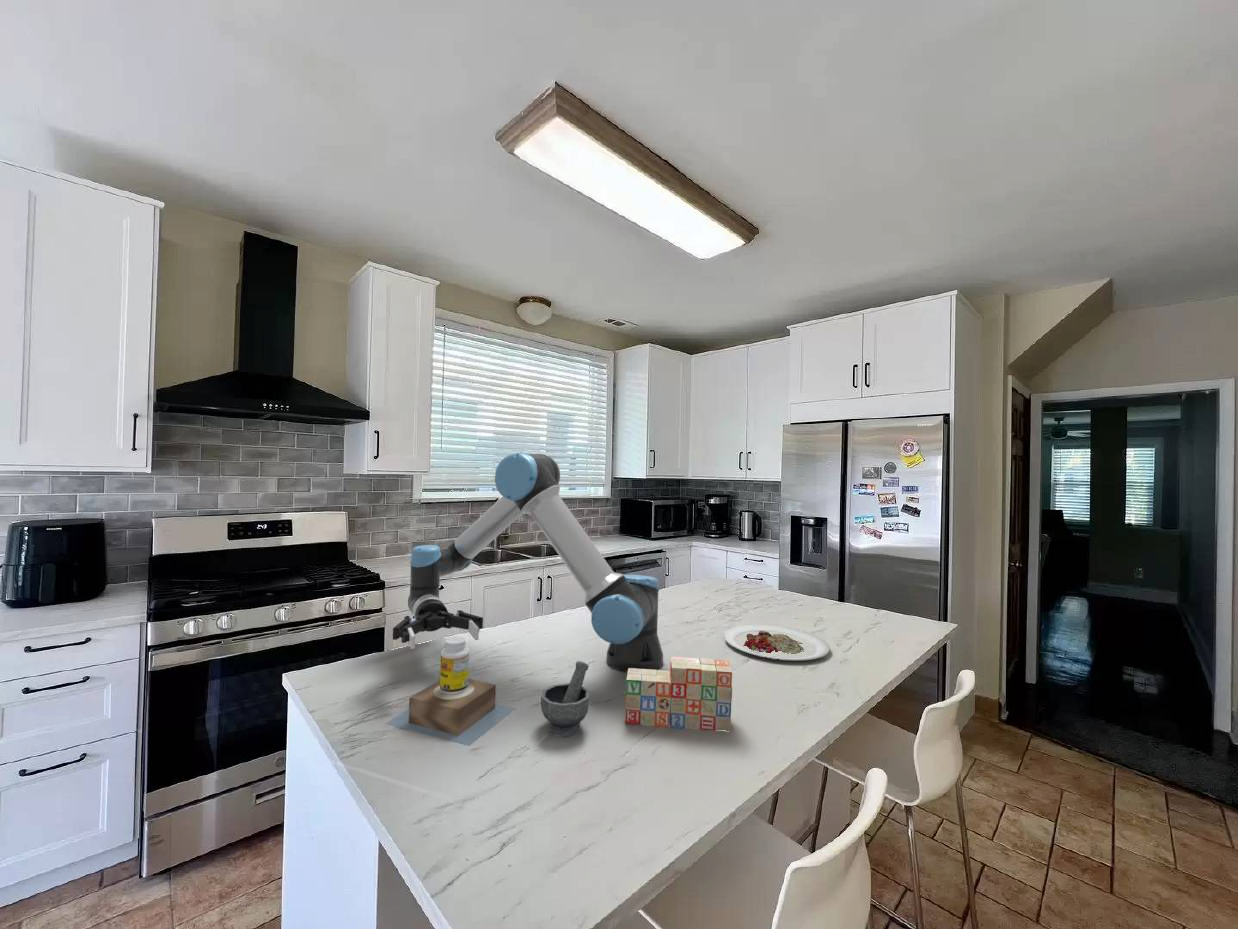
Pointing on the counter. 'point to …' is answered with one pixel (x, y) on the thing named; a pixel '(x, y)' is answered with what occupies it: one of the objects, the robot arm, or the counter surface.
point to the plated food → (775, 641)
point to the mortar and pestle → (566, 703)
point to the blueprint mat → (463, 738)
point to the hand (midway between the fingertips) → (446, 638)
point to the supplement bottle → (454, 666)
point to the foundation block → (452, 707)
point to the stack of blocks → (681, 695)
